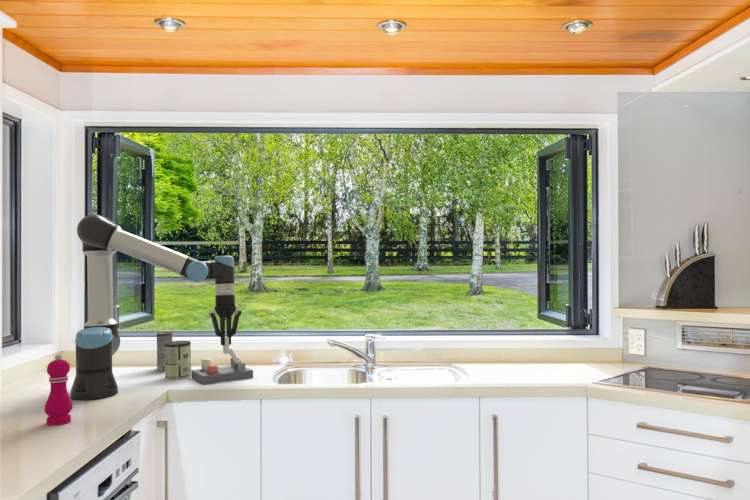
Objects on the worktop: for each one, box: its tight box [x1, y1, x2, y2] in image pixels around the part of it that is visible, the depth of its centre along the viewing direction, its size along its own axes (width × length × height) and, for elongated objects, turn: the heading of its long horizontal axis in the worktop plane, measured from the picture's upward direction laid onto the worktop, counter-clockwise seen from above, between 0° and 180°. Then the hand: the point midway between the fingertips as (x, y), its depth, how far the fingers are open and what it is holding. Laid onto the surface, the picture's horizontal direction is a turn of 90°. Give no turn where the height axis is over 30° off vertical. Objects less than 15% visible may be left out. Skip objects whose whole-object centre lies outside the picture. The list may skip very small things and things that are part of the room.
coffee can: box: [164, 340, 192, 380], centre depth 236 cm, size 10×10×14 cm
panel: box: [190, 360, 254, 385], centre depth 233 cm, size 20×16×6 cm
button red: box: [208, 364, 219, 375], centre depth 227 cm, size 4×4×5 cm
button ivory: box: [200, 357, 213, 372], centre depth 233 cm, size 4×4×5 cm
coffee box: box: [156, 331, 174, 373], centre depth 253 cm, size 9×6×16 cm
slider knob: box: [230, 357, 240, 366], centre depth 240 cm, size 2×3×3 cm
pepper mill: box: [44, 353, 73, 426], centre depth 170 cm, size 7×7×20 cm
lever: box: [229, 348, 240, 367], centre depth 232 cm, size 2×3×9 cm, turn 35°
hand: (226, 353), depth 230 cm, fingers closed
